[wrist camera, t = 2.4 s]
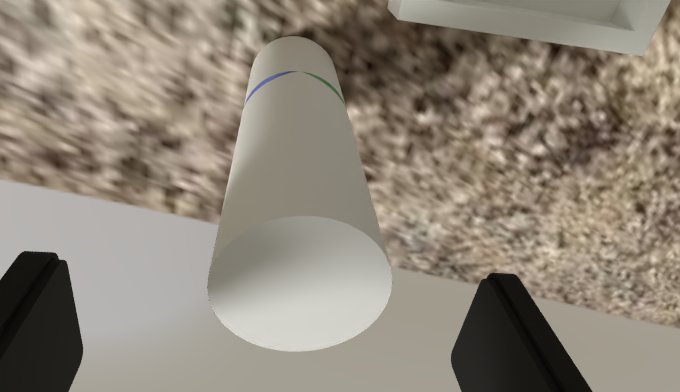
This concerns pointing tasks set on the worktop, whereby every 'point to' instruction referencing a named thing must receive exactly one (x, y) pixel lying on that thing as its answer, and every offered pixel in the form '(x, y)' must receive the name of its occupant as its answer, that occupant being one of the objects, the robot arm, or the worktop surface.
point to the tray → (546, 20)
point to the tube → (297, 212)
